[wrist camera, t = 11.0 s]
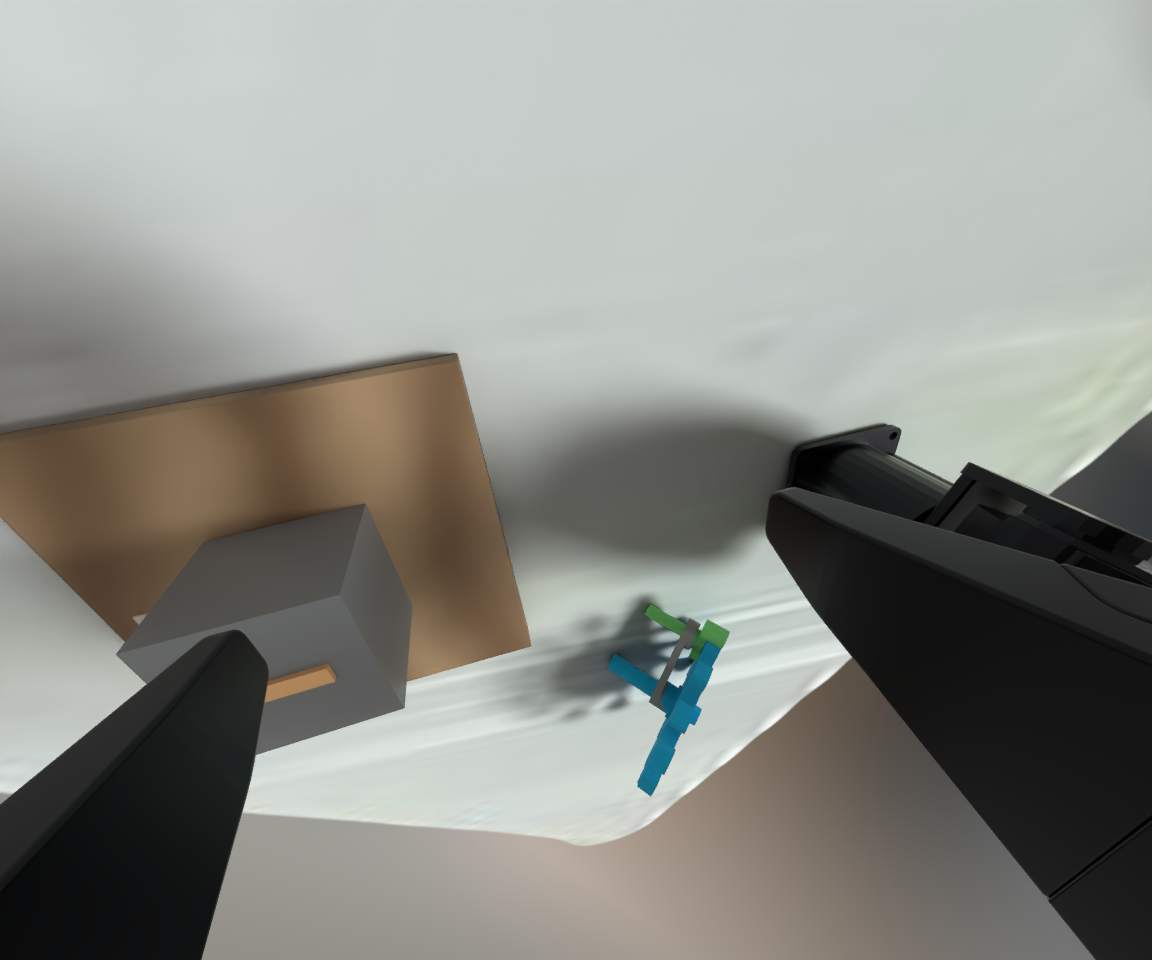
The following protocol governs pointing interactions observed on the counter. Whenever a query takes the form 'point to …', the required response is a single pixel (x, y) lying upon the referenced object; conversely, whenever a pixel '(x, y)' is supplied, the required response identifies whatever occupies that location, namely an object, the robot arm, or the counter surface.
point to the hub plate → (278, 496)
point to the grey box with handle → (294, 620)
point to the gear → (674, 687)
